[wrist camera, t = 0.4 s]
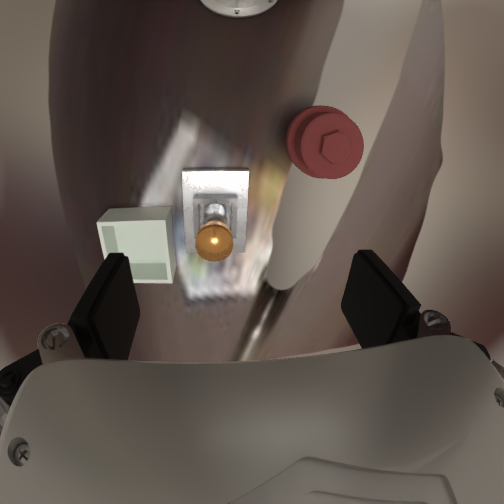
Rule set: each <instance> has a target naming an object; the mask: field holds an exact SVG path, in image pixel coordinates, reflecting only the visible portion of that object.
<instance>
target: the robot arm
mask: <svg viewBox="0 0 504 504" xmlns="http://www.w3.org/2000/svg"><path fill="white" fill-rule="evenodd" d="M200 1H201V3H202V4H203V5H204V6H205V7H206V8H207V9H209V10H210V11H212V12H214V13H216V14H219V15H221V16H225V17H230V18H247V17H252V16H256V15H259V14H262V13H264V12H265V11H267V10H269V9H270V8H271V7H272V6H273V5H274V4H275V3H276V2H277V0H200ZM268 1H270V2H271V3H270V2H268ZM235 13H238V14H235ZM420 306H421V304H420V303H419V302H418V301H417V300H416V298H415V297H414V296H413V295H412V293H410V291H409V290H408V289H407V288H406V287H405V285H404V284H403V283H402V282H401V281H400V280H399V279H398V277H397V276H396V275H395V274H394V273H393V272H392V271H391V270H390V269H389V268H388V266H387V265H386V264H385V263H384V262H383V261H382V260H381V259H380V258H379V257H378V256H377V255H376V254H375V252H374V251H373V250H359V251H358V252H357V253H355V254H354V256H353V260H352V264H351V268H350V272H349V276H348V280H347V284H346V288H345V291H344V295H343V298H342V302H341V309H342V312H343V314H344V315H345V317H346V319H347V321H348V323H349V325H350V327H351V328H352V330H353V332H354V334H355V336H356V338H357V340H358V342H359V344H360V346H361V347H362V349H357V350H352V351H345V352H338V353H331V354H322V355H314V356H306V357H296V358H287V359H286V358H285V359H273V360H259V361H240V362H200V363H190V362H152V361H134V360H128V357H129V353H130V349H131V345H132V342H133V338H134V335H135V331H136V328H137V324H138V321H139V317H140V308H139V304H138V300H137V295H136V291H135V287H134V282H133V277H132V273H131V268H130V262H129V258H128V256H124V253H109V254H108V255H107V257H106V258H105V260H104V262H103V263H102V265H101V266H100V268H99V269H98V271H97V273H96V274H95V276H94V277H93V279H92V281H91V282H90V284H89V286H88V287H87V289H86V291H85V292H84V294H83V296H82V297H81V299H80V301H79V303H78V304H77V306H76V308H75V310H74V312H73V313H72V315H71V317H70V320H69V322H68V324H63V323H57V324H53V325H50V326H48V327H47V328H45V329H44V330H43V331H42V332H41V334H40V335H39V337H38V341H37V342H38V350H36V351H34V352H32V353H30V354H28V355H26V356H25V357H23V358H21V359H19V360H17V361H15V362H14V363H12V364H10V365H8V366H6V367H5V368H3V369H2V370H1V371H0V504H504V367H502V366H501V365H500V364H498V363H497V362H496V361H494V360H493V361H492V362H491V361H490V360H491V359H490V355H489V353H488V351H487V349H486V348H485V347H484V346H483V345H481V344H478V343H476V342H474V341H471V340H469V339H467V338H464V337H462V336H460V335H457V334H455V333H452V332H451V324H450V321H449V320H448V318H447V317H446V316H445V315H443V314H442V313H440V312H438V311H435V310H424V311H423V312H422V313H420V312H419V309H420Z"/></svg>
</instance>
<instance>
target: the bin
mask: <svg viewBox="0 0 504 504" xmlns="http://www.w3.org/2000/svg"><path fill="white" fill-rule="evenodd" d="M97 227H98V232H99V237H100V241H101V246H102V250H103V254H104V259H105V258H106V257H107V255H108V254H109V253H124V256H128V258H129V262H130V268H131V273H132V277H133V282H134V283H173V278H174V274H175V269H176V256H175V246H174V235H173V223H172V209H171V206H161V207H134V208H114V209H108V210H107V211H106V212H105V213H104V215H103V216H102V217H101V218H100V219H99V220H98V221H97Z"/></svg>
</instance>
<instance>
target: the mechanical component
mask: <svg viewBox="0 0 504 504" xmlns="http://www.w3.org/2000/svg"><path fill="white" fill-rule="evenodd" d="M286 149H287V152H288V155H289V157H290V159H291V160H292V162H293V163H294V164H295V166H296V167H298V168H299V169H300V170H301V171H302V172H304V173H305V174H307V175H309V176H312V177H316V178H327V179H337V178H341V177H344V176H346V175H348V174H349V173H351V172H352V171H353V170H354V169H355V168H356V167H357V165H358V164H359V162H360V160H361V158H362V155H363V149H364V144H363V138H362V134H361V132H360V130H359V128H358V126H357V125H356V124H355V123H354V122H353V121H352V120H351V119H350V118H349V117H348V116H347V115H346V114H344V113H343V112H342V111H340V110H338V109H336V108H333V107H329V106H313V107H309V108H306V109H304V110H303V111H301V112H300V113H298V114H297V115H296V116H295V117H294V118H293V120H292V121H291V123H290V125H289V127H288V130H287V133H286Z"/></svg>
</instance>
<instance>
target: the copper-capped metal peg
mask: <svg viewBox="0 0 504 504" xmlns="http://www.w3.org/2000/svg"><path fill="white" fill-rule="evenodd" d="M195 248H196V251H197V252H198V254H199V255H200V256H201V257H202V258H204V259H206V260H209V261H220V260H223V259H225V258H226V257H228V256H229V255H230V253H231V252H232V250H233V235H232V232H231V230H230V228H229V227H228V226H227V213H226V210H225V208H224V207H223V206H222V205H220V204H211V205H209V206H207V207H206V209H205V211H204V216H203V223H202V226H201V227H200V228H199V229H198V231H197V235H196V241H195Z"/></svg>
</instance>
